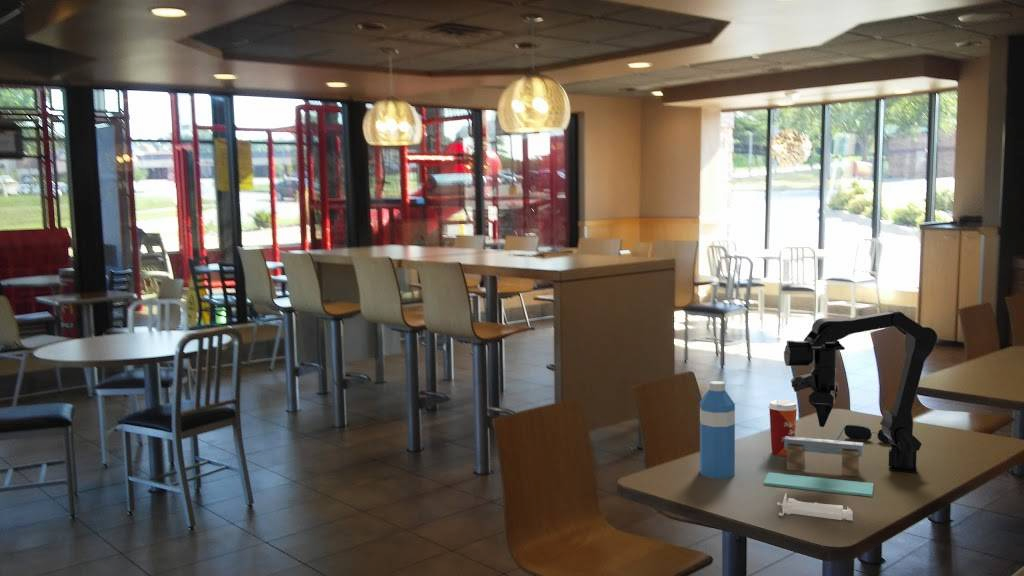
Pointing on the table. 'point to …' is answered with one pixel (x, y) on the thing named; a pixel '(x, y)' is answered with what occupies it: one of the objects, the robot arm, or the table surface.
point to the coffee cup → (781, 424)
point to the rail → (823, 445)
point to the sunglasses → (862, 433)
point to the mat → (819, 484)
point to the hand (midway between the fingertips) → (823, 422)
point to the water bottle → (717, 432)
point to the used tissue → (815, 509)
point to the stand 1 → (795, 457)
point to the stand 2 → (850, 463)
